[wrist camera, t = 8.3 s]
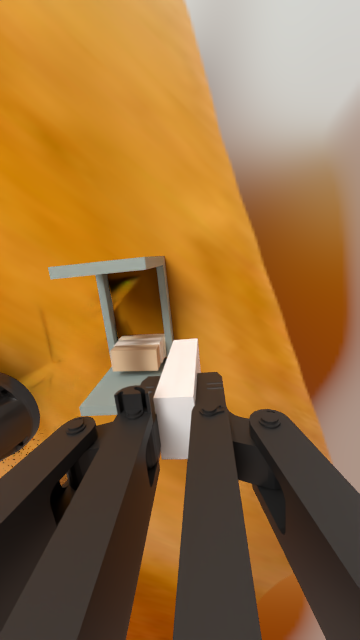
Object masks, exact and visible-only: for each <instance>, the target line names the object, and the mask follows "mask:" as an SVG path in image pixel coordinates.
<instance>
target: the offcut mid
mask: <svg viewBox="0 0 360 640" xmlns="http://www.w3.org/2000/svg"><path fill="white" fill-rule="evenodd" d="M154 344H159V350H160V361H161V363H162V362H163V360H164V357H165V355H164V347H163V339H162V337H159V338H145V339H131V340H119V341H118V342H117V343H116V344H115V345H114V347H115V346H122V345H154Z"/></svg>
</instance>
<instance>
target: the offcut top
mask: <svg viewBox="0 0 360 640" xmlns="http://www.w3.org/2000/svg"><path fill="white" fill-rule="evenodd" d="M110 355H111V363H112V370H113V372H114V371H158V370H159V367H160V364H161V361H160V350H159V344H154V345H122V346H115V347H114V348H113V349H112V350H111V351H110Z"/></svg>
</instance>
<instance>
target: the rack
mask: <svg viewBox="0 0 360 640" xmlns="http://www.w3.org/2000/svg"><path fill="white" fill-rule="evenodd" d="M154 267H156V269H157V277H158V285H159V293H160V301H161V309H162V318H163V326H164V334H165V342H166V350H167V357H168V355H169V352H170V349H171V346H172V343H173V340H174V337H173V329H172V320H171V311H170V302H169V294H168V285H167V276H166V267H165V258H164V256H155V257H140V258H131V259H121V260H112V261H103V262H93V263H84V264H75V265H65V266H56V267H48V270H49V274H50V279H58V278H68V277H78V276H88V275H96V281H97V286H98V292H99V297H100V303H101V308H102V314H103V319H104V325H105V330H106V336H107V341H108V347H109V352H110V351H111V350H112V349H113V348H114V345H115V344H116V343H117V342H118V341H119V340H118V334H117V328H116V322H115V317H114V311H113V305H112V299H111V293H110V287H109V281H108V275H107V274H108V273H117V272H127V271H137V270H146V269H150V268H154ZM110 358H111V355H110ZM166 360H167V358H164V360H163V362H162V363H161V364H160V367H159V370H158V371H114V372H113V370H112V367H111V368H110V370H109V371H108V372H107V373H106V375H105V376H104V377H103V378H102V380H101V381H100V382H99V383H98V385H97V386H96V387H95V388H94V389H93V391H92V392H91V393H90V394H89V396H88V397H87V398H86V399H85V401H84V402H83V403H82V404H81V406H80V412H81V416H93V415H117V409H116V403H115V398H114V394H115V393H116V392H117V391H119V390H121V389H122V388H125V387H128V386H134V385H140V384H141V382H142V381H143V380H144V379H146V378H147V377H148V376H161V374H162V372H163V369H164V366H165V363H166Z"/></svg>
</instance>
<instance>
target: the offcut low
mask: <svg viewBox="0 0 360 640" xmlns="http://www.w3.org/2000/svg"><path fill="white" fill-rule="evenodd" d="M159 337H162V339H163V347H164V355H165V357H167V350H166V342H165V334H144V335H122V337H121V338H120V339H119V340H131V339H145V338H159Z"/></svg>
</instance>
